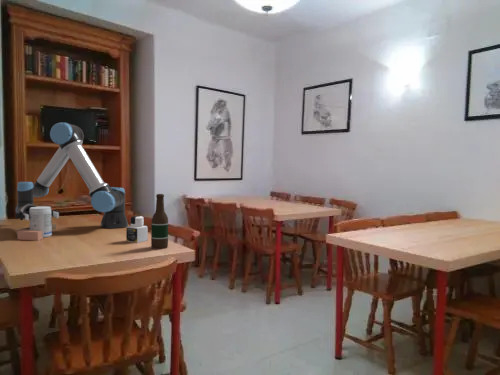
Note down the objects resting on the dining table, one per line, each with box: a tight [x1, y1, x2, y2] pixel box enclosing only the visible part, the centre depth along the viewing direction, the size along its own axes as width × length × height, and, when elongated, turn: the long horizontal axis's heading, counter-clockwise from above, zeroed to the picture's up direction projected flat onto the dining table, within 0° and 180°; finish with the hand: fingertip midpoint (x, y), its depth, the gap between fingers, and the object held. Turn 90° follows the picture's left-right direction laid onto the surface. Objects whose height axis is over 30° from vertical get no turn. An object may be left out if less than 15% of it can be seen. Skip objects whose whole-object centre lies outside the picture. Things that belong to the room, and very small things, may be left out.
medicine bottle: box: [125, 215, 149, 244], centre depth 177 cm, size 7×7×12 cm
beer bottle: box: [150, 193, 169, 250], centre depth 164 cm, size 8×8×24 cm
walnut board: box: [15, 223, 57, 237], centre depth 193 cm, size 6×21×3 cm, turn 170°
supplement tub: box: [29, 205, 53, 238], centre depth 183 cm, size 10×10×15 cm
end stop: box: [16, 230, 43, 241], centre depth 176 cm, size 11×3×4 cm, turn 80°
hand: (43, 216), depth 180 cm, fingers open, 13 cm apart
